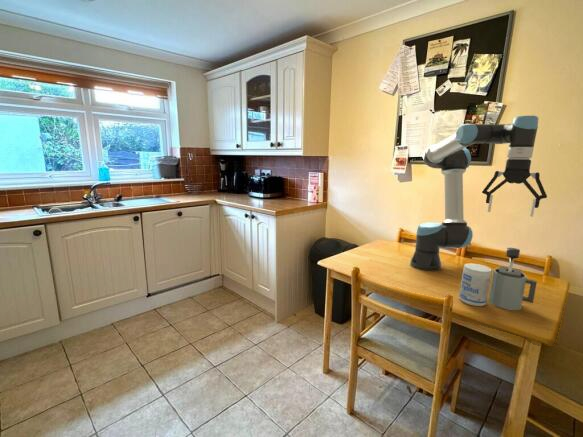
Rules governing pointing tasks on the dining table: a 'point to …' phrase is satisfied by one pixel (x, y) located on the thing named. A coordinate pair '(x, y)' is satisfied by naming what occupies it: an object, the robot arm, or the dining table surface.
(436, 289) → the dining table surface
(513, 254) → the plunger
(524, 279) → the press carafe
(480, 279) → the supplement tub
